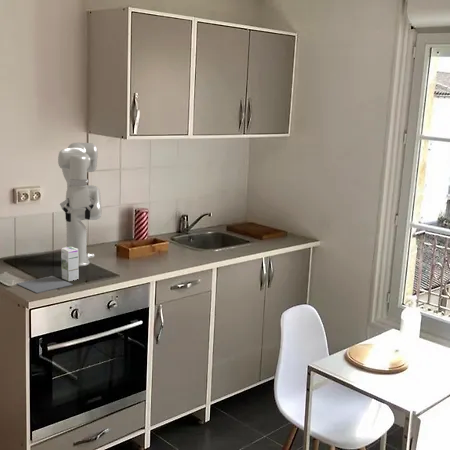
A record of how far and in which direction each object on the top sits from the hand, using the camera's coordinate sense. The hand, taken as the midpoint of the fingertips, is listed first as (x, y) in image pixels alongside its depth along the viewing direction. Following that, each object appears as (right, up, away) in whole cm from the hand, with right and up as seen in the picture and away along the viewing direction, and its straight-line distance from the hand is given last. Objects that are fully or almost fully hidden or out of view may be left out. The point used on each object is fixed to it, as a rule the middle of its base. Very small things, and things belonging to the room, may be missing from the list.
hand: (78, 220), depth 281 cm
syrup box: (-4, -27, +1) cm, 27 cm away
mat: (-13, -28, -9) cm, 32 cm away
